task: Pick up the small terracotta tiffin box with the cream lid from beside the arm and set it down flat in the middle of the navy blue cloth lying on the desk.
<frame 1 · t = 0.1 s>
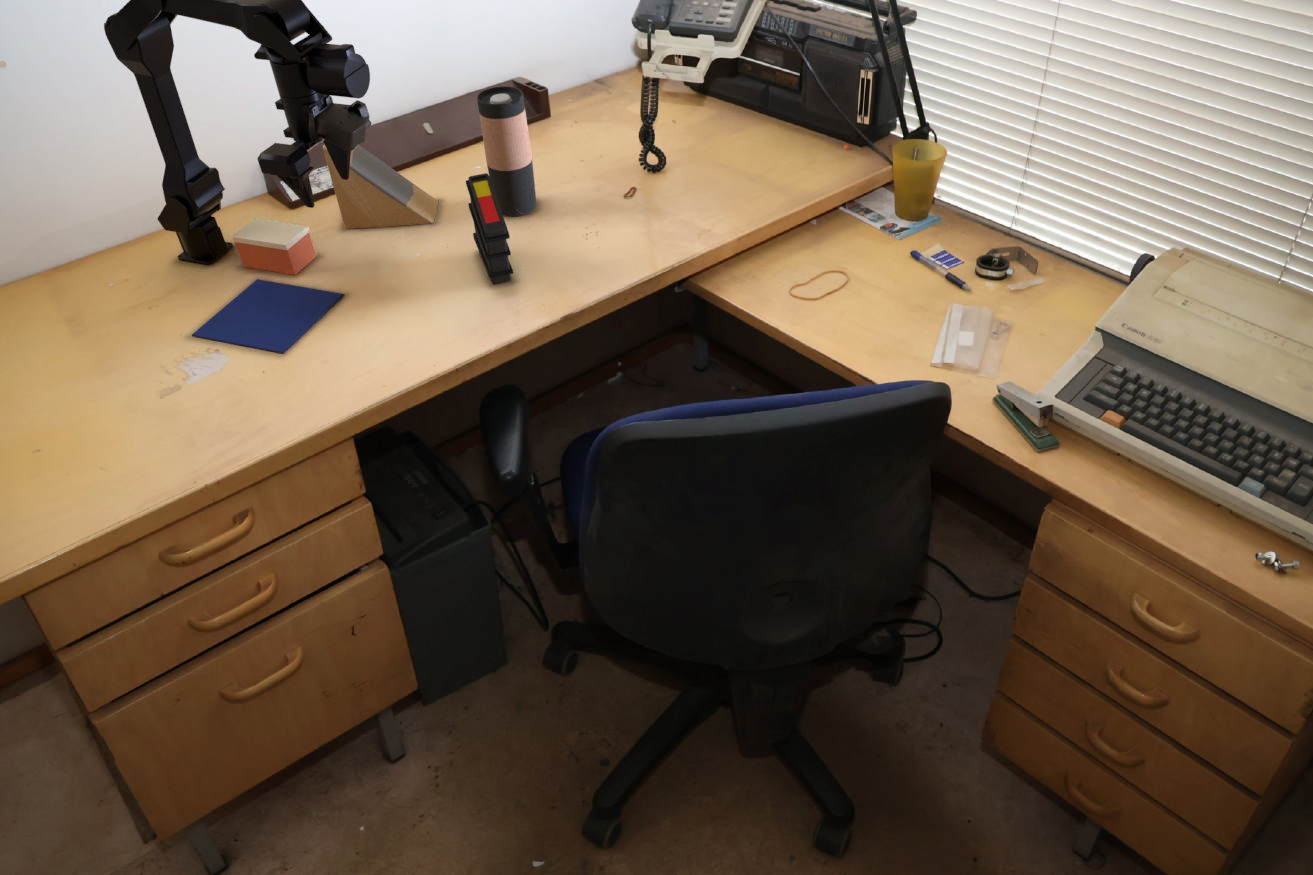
hand: (328, 193, 150), 15 cm above the table, tool pointing down, fingers open, 9 cm apart
travel mug: (516, 208, 175), on the table
sandwich container: (393, 215, 175), on the table
blue cloth: (269, 315, 152), on the table
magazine: (496, 271, 160), on the table
tiffin box: (280, 261, 164), on the table
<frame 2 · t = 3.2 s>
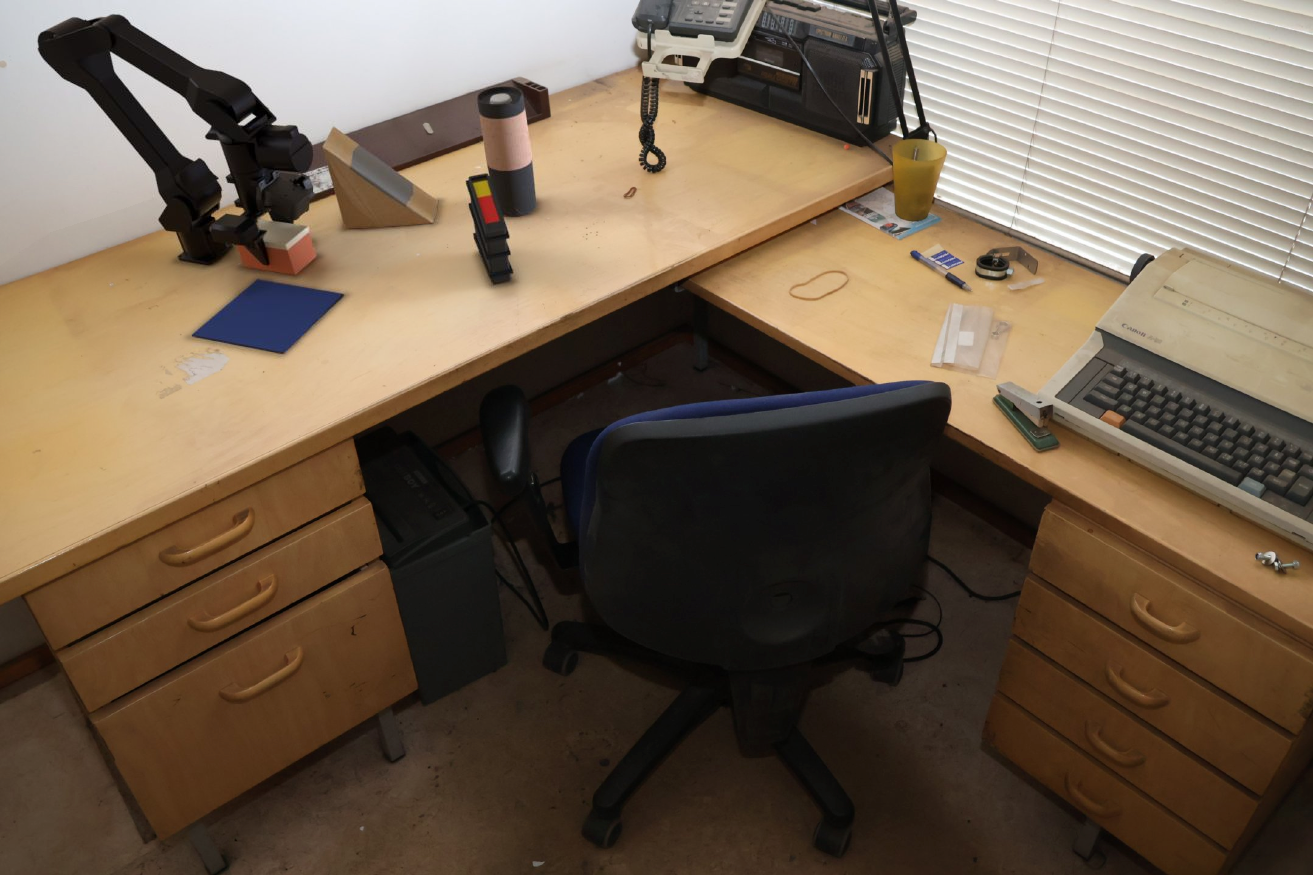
hand: (277, 255, 164), 1 cm above the table, tool pointing down, fingers closed on tiffin box, 6 cm apart
tiffin box: (280, 261, 164), on the table, touching gripper
everything else where it was.
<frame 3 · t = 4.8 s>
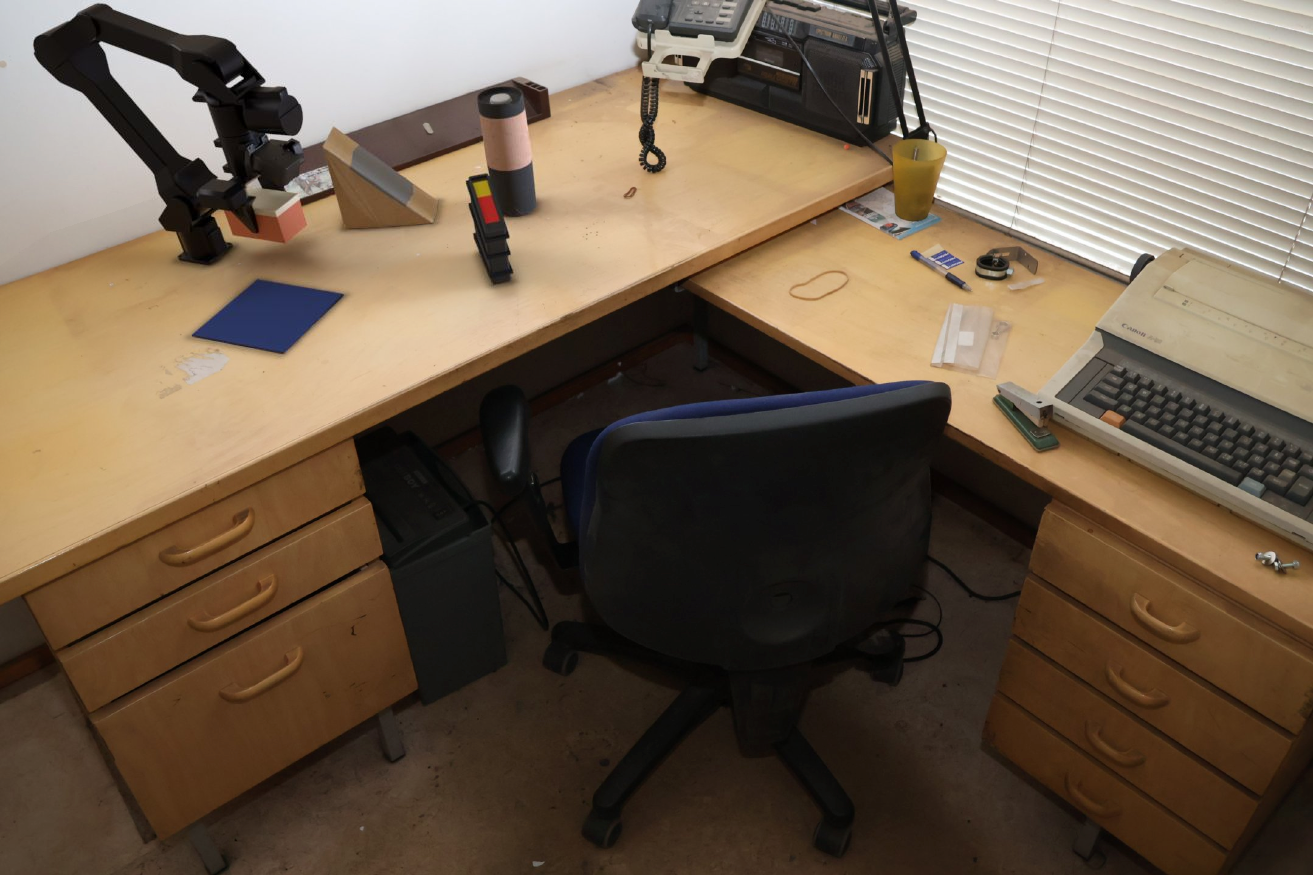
hand: (267, 223, 160), 7 cm above the table, tool pointing down, fingers closed on tiffin box, 6 cm apart
tiffin box: (270, 230, 161), point 6 cm above the table, touching gripper
everything else where it was.
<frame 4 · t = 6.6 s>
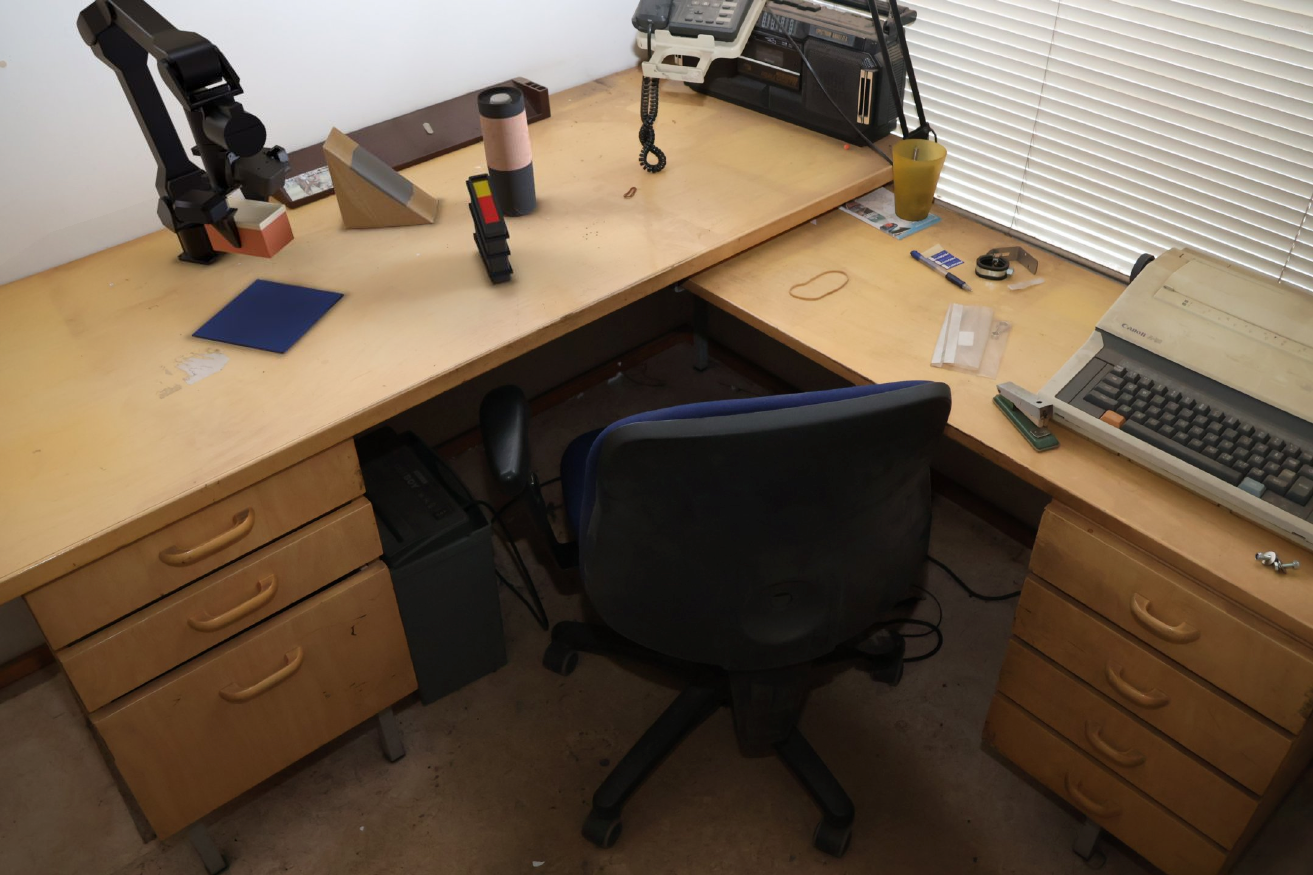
hand: (251, 237, 148), 11 cm above the table, tool pointing down, fingers closed on tiffin box, 6 cm apart
tiffin box: (254, 244, 149), point 10 cm above the table, touching gripper
everything else where it was.
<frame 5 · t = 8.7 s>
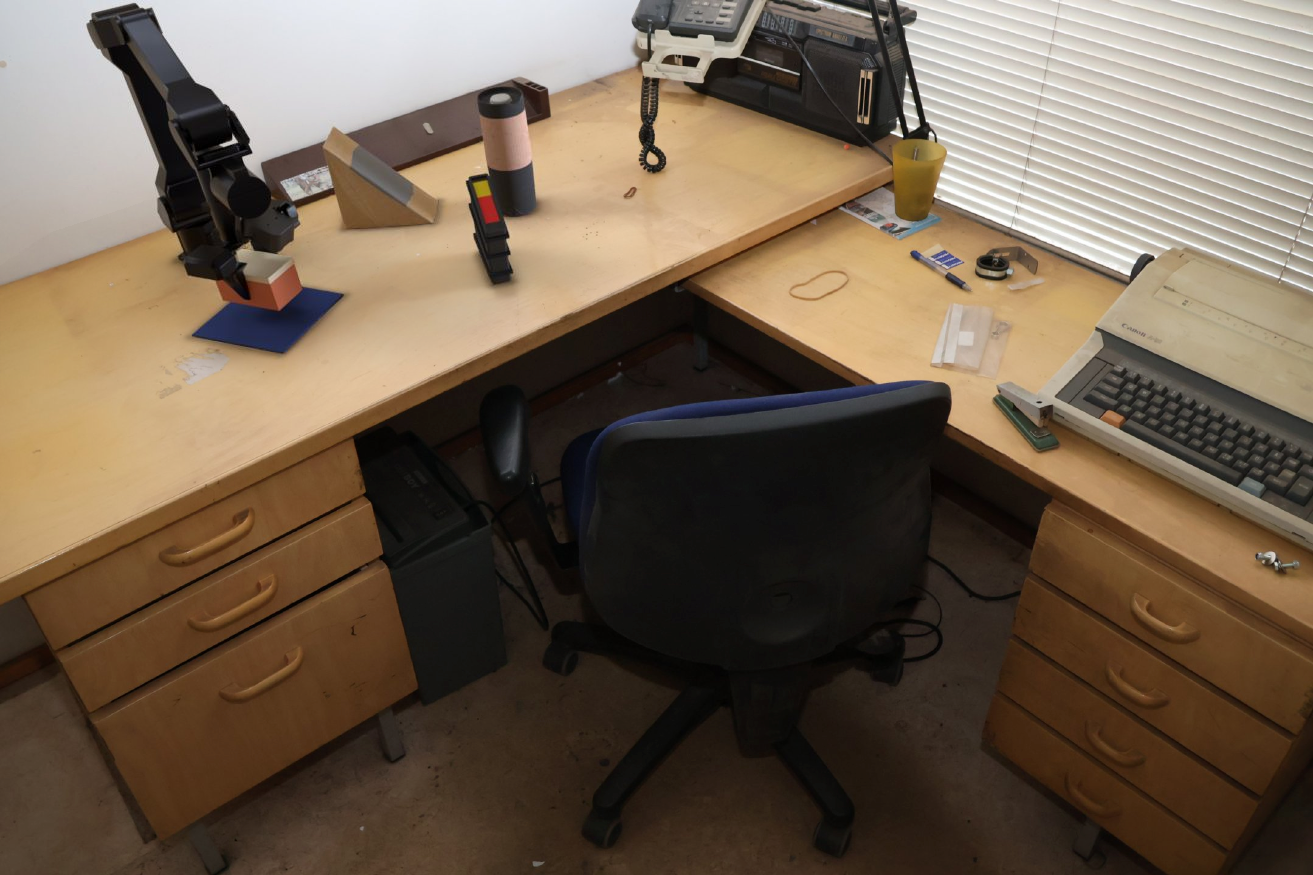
hand: (260, 288, 149), 5 cm above the table, tool pointing down, fingers closed on tiffin box, 6 cm apart
tiffin box: (262, 295, 150), point 4 cm above the table, touching gripper
everything else where it was.
when the fingers open (1 cm above the table, at t = 10.2 s): tiffin box stays where it is, resting on blue cloth.
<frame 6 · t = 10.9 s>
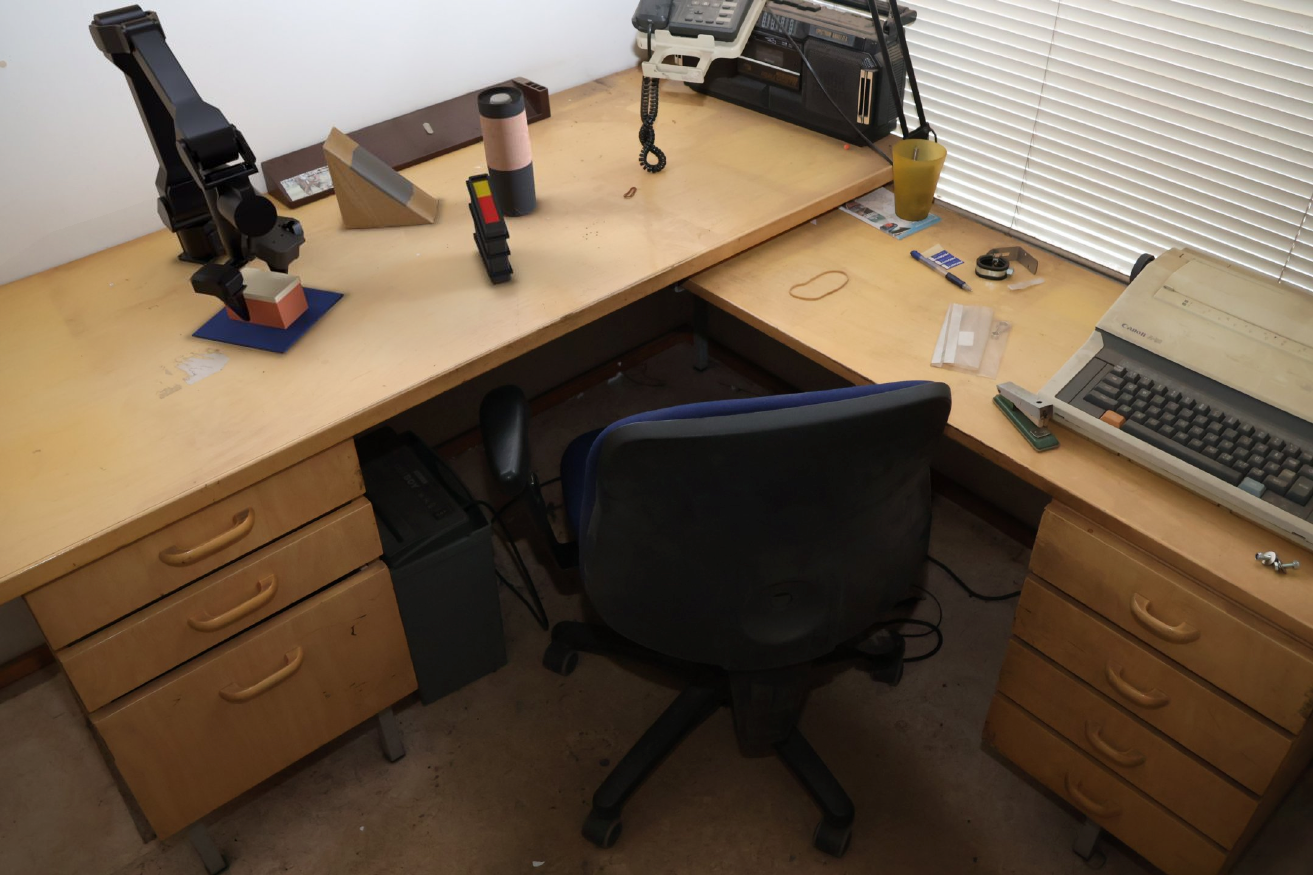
hand: (265, 304, 151), 2 cm above the table, tool pointing down, fingers open, 9 cm apart
tiffin box: (269, 313, 152), resting on blue cloth
everything else where it was.
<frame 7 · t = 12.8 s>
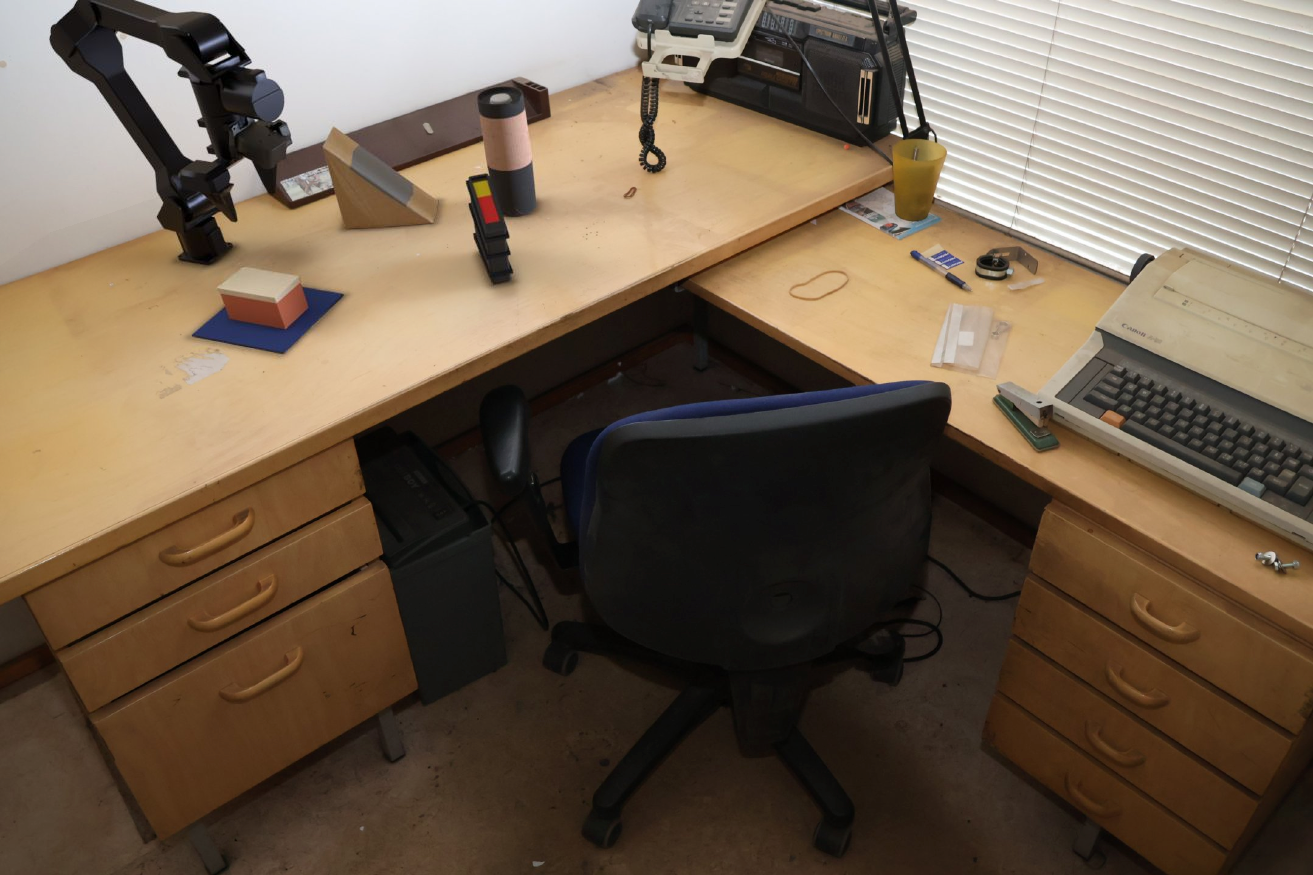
hand: (253, 207, 154), 12 cm above the table, tool pointing down, fingers open, 9 cm apart
nothing on the table moved.
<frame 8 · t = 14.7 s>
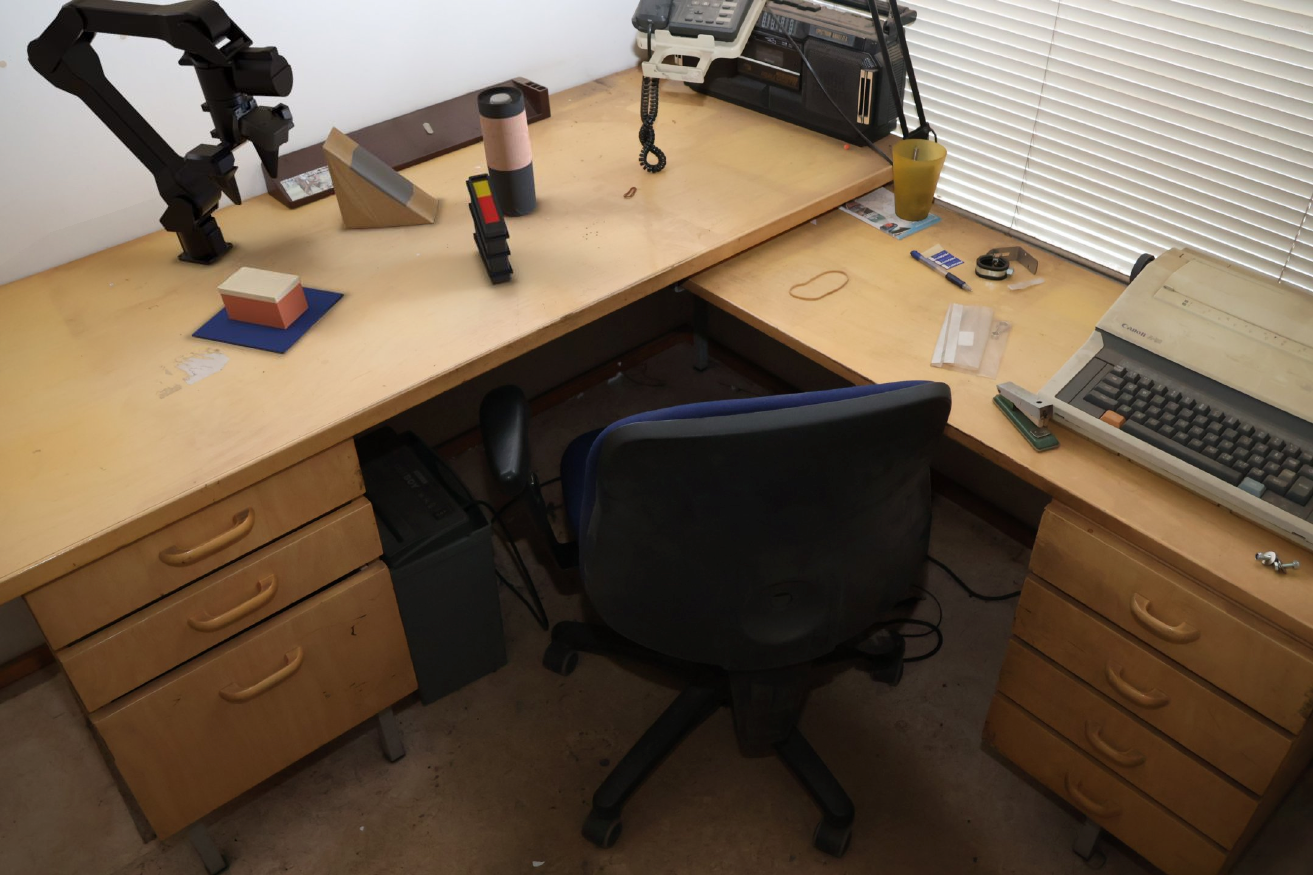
hand: (256, 191, 158), 12 cm above the table, tool pointing down, fingers open, 9 cm apart
nothing on the table moved.
at the end: tiffin box inside the target area on the blue cloth (0.1 cm from its centre), point 0.3 cm above the blue cloth's base; tiffin box tilted 0°; the gripper is holding nothing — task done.
